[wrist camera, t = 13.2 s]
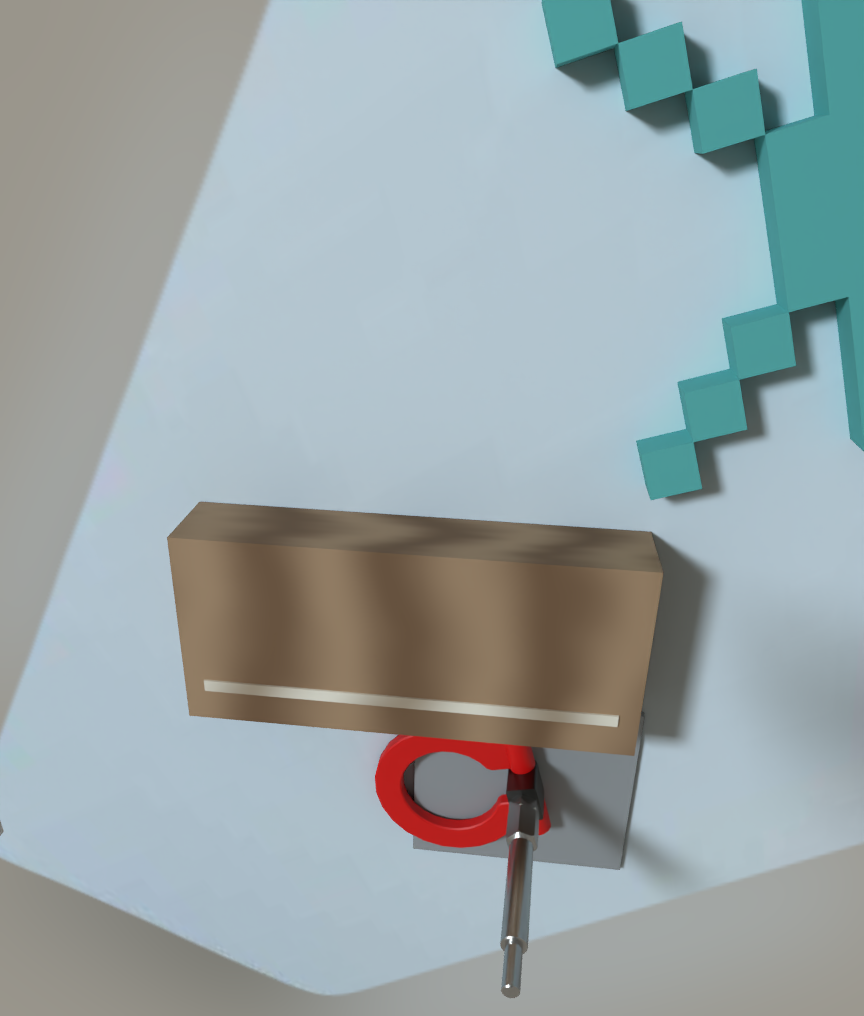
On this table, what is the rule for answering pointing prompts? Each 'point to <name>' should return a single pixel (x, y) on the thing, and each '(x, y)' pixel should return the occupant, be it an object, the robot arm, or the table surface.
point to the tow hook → (479, 824)
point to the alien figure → (786, 200)
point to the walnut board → (416, 624)
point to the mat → (568, 795)
